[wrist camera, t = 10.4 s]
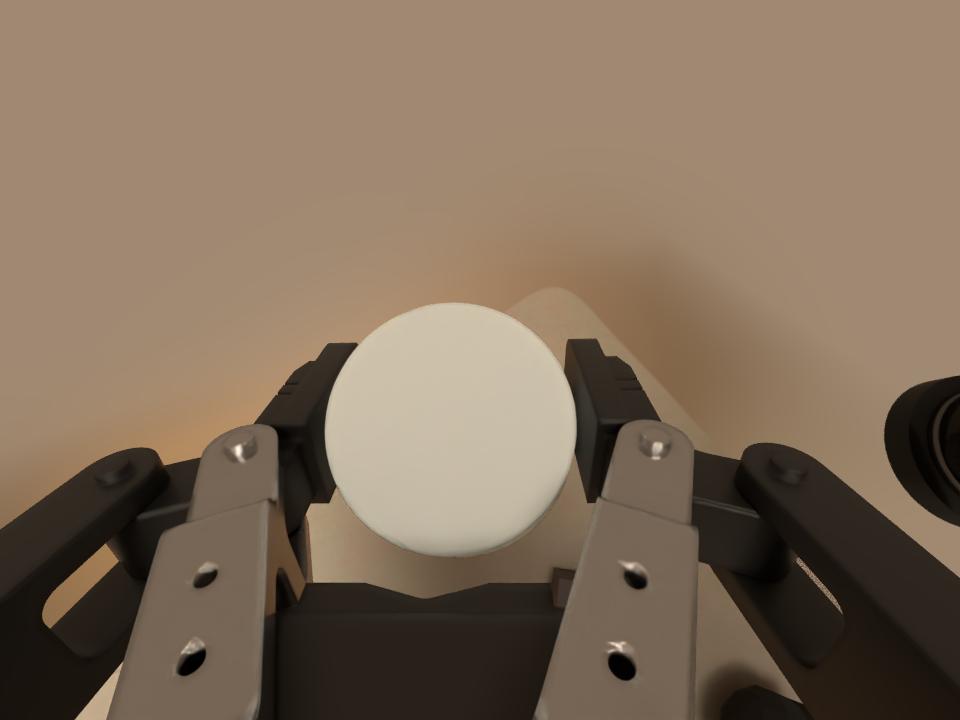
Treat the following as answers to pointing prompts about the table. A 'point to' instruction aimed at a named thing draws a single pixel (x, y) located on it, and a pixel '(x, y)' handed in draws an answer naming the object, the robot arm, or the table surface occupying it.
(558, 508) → the table surface
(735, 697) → the microphone
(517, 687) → the robot arm
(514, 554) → the table surface
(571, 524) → the table surface
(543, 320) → the table surface
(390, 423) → the pill bottle
